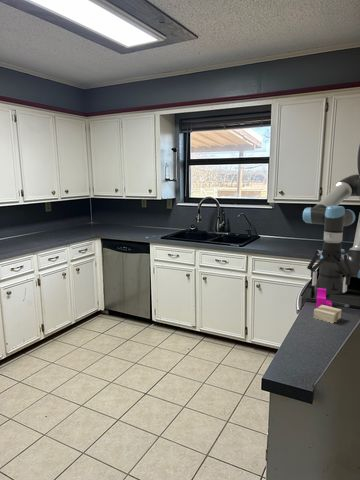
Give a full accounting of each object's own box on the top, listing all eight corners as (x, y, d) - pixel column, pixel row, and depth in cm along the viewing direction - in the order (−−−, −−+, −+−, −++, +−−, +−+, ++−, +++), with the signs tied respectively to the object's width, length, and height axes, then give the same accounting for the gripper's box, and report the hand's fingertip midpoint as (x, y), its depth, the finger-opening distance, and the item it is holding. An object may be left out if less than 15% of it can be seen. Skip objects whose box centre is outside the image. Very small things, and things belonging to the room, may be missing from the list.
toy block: (331, 316, 150) (332, 299, 149) (315, 314, 153) (316, 297, 151) (330, 304, 164) (331, 289, 163) (316, 303, 166) (317, 287, 165)
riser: (321, 315, 150) (322, 304, 149) (340, 321, 145) (341, 309, 144) (313, 321, 145) (313, 309, 144) (332, 326, 139) (333, 314, 138)
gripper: (301, 239, 159) (298, 284, 163) (359, 246, 142) (355, 296, 145) (309, 237, 164) (306, 281, 168) (366, 244, 147) (361, 292, 150)
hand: (328, 288), depth 156 cm, fingers open, 13 cm apart
